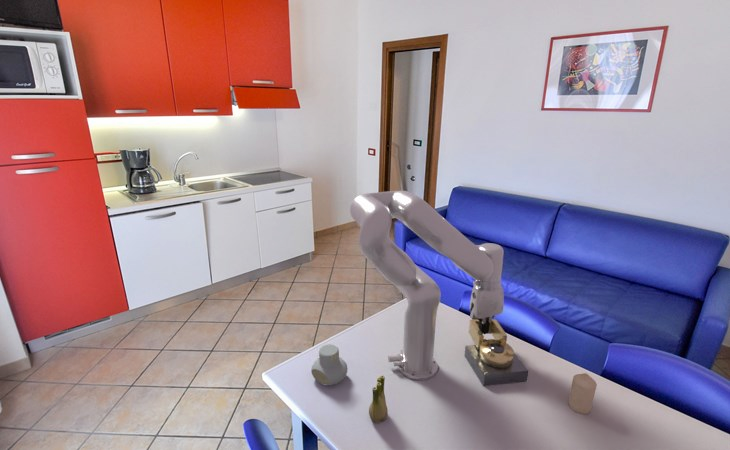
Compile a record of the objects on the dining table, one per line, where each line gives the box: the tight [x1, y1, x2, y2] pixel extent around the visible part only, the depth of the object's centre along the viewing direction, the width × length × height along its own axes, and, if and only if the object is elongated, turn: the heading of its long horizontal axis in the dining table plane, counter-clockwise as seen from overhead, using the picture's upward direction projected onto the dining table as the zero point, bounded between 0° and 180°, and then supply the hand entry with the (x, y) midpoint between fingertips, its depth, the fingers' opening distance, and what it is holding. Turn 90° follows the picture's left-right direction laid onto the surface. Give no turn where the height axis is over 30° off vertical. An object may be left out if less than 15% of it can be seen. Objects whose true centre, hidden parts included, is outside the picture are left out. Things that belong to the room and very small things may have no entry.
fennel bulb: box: [368, 375, 388, 423], centre depth 96 cm, size 6×5×12 cm
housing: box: [464, 344, 529, 387], centre depth 116 cm, size 14×14×4 cm
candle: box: [567, 372, 598, 415], centre depth 100 cm, size 6×6×10 cm
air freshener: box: [311, 343, 348, 386], centre depth 111 cm, size 11×8×10 cm
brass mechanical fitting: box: [468, 318, 515, 368], centre depth 118 cm, size 18×10×5 cm, turn 2°
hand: (483, 331), depth 122 cm, fingers closed
